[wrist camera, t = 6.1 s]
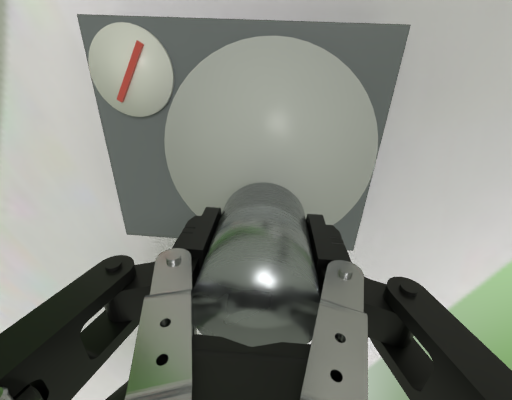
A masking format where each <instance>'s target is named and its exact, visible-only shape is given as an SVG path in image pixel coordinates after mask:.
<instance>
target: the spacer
mask: <svg viewBox="0 0 512 400" xmlns="http://www.w3.org/2000/svg"><path fill="white" fill-rule="evenodd" d="M320 299H321V293H320V288H319V283H318V278H317V273H316V268H315V263H314V258H313V253H312V248H311V243H310V238H309V233H308V228H307V223H306V218H305V213H304V209H303V206H302V204H301V203H300V201H299V199H298V198H297V197H296V196H295V195H294V194H293V193H292V192H291V191H289V190H288V189H286V188H284V187H282V186H280V185H277V184H273V183H266V182H259V183H253V184H249V185H246V186H244V187H242V188H240V189H238V190H237V191H236V192H234V193H233V194H232V195H231V196H230V198H229V199H228V200H227V202H226V204H225V207H224V209H223V212H222V215H221V217H220V220H219V222H218V225H217V228H216V230H215V233H214V236H213V238H212V241H211V244H210V246H209V249H208V252H207V254H206V257H205V260H204V262H203V265H202V267H201V270H200V273H199V275H198V278H197V281H196V283H195V286H194V289H193V309H194V320H195V325H196V327H197V329H198V330H199V331H200V332H201V333H202V334H203V335H209V336H220V337H224V338H227V339H229V340H232V341H235V342H238V343H241V344H244V345H246V346H250V347H255V346H261V345H267V344H273V343H279V342H288V343H300V344H307V343H309V342H310V341H311V340H312V338H313V333H314V328H315V323H316V318H317V314H318V309H319V304H320Z"/></svg>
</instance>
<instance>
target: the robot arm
mask: <svg viewBox="0 0 512 400" xmlns="http://www.w3.org/2000/svg"><path fill="white" fill-rule="evenodd" d="M221 215H222V212H221V208H216V207H206V208H205V210H204V212H203V214H202V216H194V217H193V218H191V219H190V220H188V222H187V223H186V225H185V228H184V229H183V230H182V233H181V234H180V235H179V237H178V239H177V241H176V242H175V244H174V246H173V248H172V249H169V250H166V251H164V252H162V253H161V254H159V255H158V256H157V258H156V260H155V262H152V263H146V264H139V265H134V261H133V259H132V258H131V257H129V256H125V255H118V256H113V257H110V258H107V259H105V260H103V261H101V262H100V263H98V264H97V265H96V266H94V267H93V268H91V269H90V270H89V271H87V272H86V273H84V274H83V275H82V276H80V277H79V278H77V279H76V280H75V281H73V282H72V283H70V284H69V285H68V286H66V287H65V288H63V289H62V290H61V291H59V292H58V293H56V294H55V295H54V296H52V297H51V298H49V299H48V300H47V301H45V302H44V303H42V304H41V305H40V306H38V307H37V308H35V309H34V310H33V311H31V312H30V313H28V314H27V315H26V316H24V317H23V318H21V319H20V320H19V321H17V322H16V323H14V324H13V325H12V326H10V327H9V328H7V329H6V330H5V331H3V332H2V333H0V400H71V399H72V398H73V397H74V396H75V395H76V394H77V392H78V391H79V390H80V389H81V388H82V387H83V386H84V385H85V384H86V382H87V381H88V380H89V379H90V378H91V377H92V376H93V375H94V374H95V372H96V371H97V370H98V369H99V368H100V367H101V366H102V365H103V364H104V362H105V361H106V360H107V359H108V358H109V357H110V356H111V355H112V354H113V352H114V351H115V350H116V349H117V348H118V347H119V346H120V345H121V344H122V342H123V341H124V340H125V339H126V338H127V337H128V336H129V335H130V334H131V332H132V331H133V330H134V329H135V328H136V327H137V326H138V325H139V328H138V333H137V338H136V344H135V349H134V354H133V360H132V365H131V370H130V376H129V381H127V382H126V383H125V384H124V385H123V386H121V387H120V388H119V389H118V390H116V391H115V392H114V393H113V394H112V395H110V396H109V397H108V398H107V399H106V400H368V337H369V338H370V339H371V341H372V343H373V345H374V346H375V348H376V349H377V351H378V352H379V354H380V355H381V357H382V358H383V360H384V361H385V363H386V364H387V365H388V367H389V369H390V370H391V372H392V373H393V375H394V376H395V378H396V379H397V381H398V382H399V384H400V385H401V387H402V388H403V390H404V392H405V393H406V394H407V396H408V398H409V399H410V400H512V371H511V370H510V369H509V368H508V367H507V366H506V365H505V364H504V363H503V362H502V361H501V360H500V359H499V358H498V357H497V356H496V355H495V354H493V353H492V352H491V351H490V350H489V349H488V348H487V347H486V346H485V345H484V344H483V343H482V342H481V341H480V340H479V339H478V338H477V337H476V336H474V335H473V334H472V333H471V332H470V331H469V330H468V329H467V328H466V327H465V326H464V325H463V324H462V323H461V322H460V321H459V320H458V319H456V318H455V317H454V316H453V315H452V314H451V313H450V312H449V311H448V310H447V309H446V308H445V307H444V306H443V305H442V304H441V303H440V302H439V301H438V300H436V299H435V298H434V297H433V296H432V295H431V294H430V293H429V292H428V291H427V290H426V289H425V288H424V287H423V286H421V285H420V284H419V283H417V282H415V281H413V280H411V279H408V278H404V277H393V278H390V279H389V280H388V282H387V284H383V283H380V282H377V281H373V280H370V279H368V278H366V277H364V274H363V272H362V270H361V269H360V268H359V267H358V266H356V265H355V264H353V263H352V262H351V260H350V257H349V255H348V252H347V250H346V247H345V245H344V242H343V239H342V237H341V234H340V232H339V230H337V229H336V228H335V227H334V226H333V225H326V224H325V220H324V217H323V215H320V214H307V217H306V223H307V228H308V233H309V238H310V243H311V248H312V253H313V258H314V263H315V268H316V273H317V278H318V283H319V288H320V293H321V299H320V304H319V309H318V314H317V318H316V323H315V328H314V333H313V338H312V343H311V344H300V343H288V342H279V343H273V344H267V345H261V346H255V347H250V346H246V345H244V344H241V343H238V342H235V341H232V340H229V339H227V338H224V337H220V336H209V335H198V334H197V327H196V325H195V320H194V309H193V289H194V286H195V283H196V281H197V278H198V275H199V273H200V270H201V267H202V265H203V262H204V260H205V257H206V254H207V252H208V249H209V246H210V244H211V241H212V238H213V236H214V233H215V230H216V228H217V225H218V222H219V220H220V217H221ZM103 307H105V311H104V312H103V313H102V314H100V315H99V316H98V317H97V318H96V319H95V320H94V321H93V322H92V323H91V324H90V325H88V326H87V327H86V328H85V329H84V330H83V331H82V332H81V330H82V328H83V326H84V325H85V323H86V322H87V321H88V320H89V319H90V318H92V317H93V316H94V315H95V314H96V313H97V312H98V311H99V310H101V309H102V308H103ZM413 336H415V337H416V338H417V339H418V341H419V342H420V343H421V344H422V346H423V347H424V348H425V349H426V350H427V351H428V353H429V354H430V356H431V358H432V360H433V361H432V360H431V359H430V358H429V356H428V355H427V354H426V353H425V352H424V350H423V349H422V348H421V347H420V346H419V344H418V343H417V342H416V341H415V340H414V338H413Z"/></svg>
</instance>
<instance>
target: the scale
mask: <svg viewBox="0 0 512 400" xmlns="http://www.w3.org/2000/svg"><path fill="white" fill-rule="evenodd" d="M77 17H78V21H79V26H80V30H81V35H82V39H83V43H84V48H85V52H86V57H87V61H88V66H89V70H90V74H91V79H92V83H93V88H94V92H95V96H96V101H97V105H98V110H99V114H100V118H101V123H102V127H103V132H104V136H105V140H106V145H107V149H108V154H109V158H110V162H111V167H112V171H113V176H114V180H115V184H116V189H117V193H118V198H119V202H120V207H121V211H122V215H123V220H124V224H125V229H126V233H127V234H128V235H142V236H156V237H170V238H178V237H179V235H180V234H181V233H182V230H183V229H184V228H185V225H186V223H187V222H188V220H190V219H191V218H193V217H194V216H202V214H203V212H204V210H205V208H206V207H216V208H221V212H223V209H224V207H225V204H226V202H227V200H228V199H229V198H230V196H231V195H232V194H233V193H234V192H236V191H237V190H238V189H240V188H242V187H244V186H246V185H249V184H253V183H259V182H266V183H273V184H277V185H280V186H282V187H284V188H286V189H288V190H289V191H291V192H292V193H293V194H294V195H295V196H296V197H297V198H298V199H299V201H300V203H301V204H302V206H303V209H304V213H305V218H306V217H307V214H320V215H323V217H324V220H325V224H326V225H333V226H334V227H335V228H336V229H337V230H339V232H340V234H341V237H342V239H343V242H344V245H345V247H346V250H351V251H353V249H354V245H355V241H356V237H357V233H358V229H359V226H360V222H361V218H362V214H363V210H364V206H365V202H366V198H367V194H368V190H369V186H370V182H371V178H372V174H373V171H374V167H375V163H376V159H377V155H378V151H379V147H380V143H381V139H382V135H383V131H384V127H385V123H386V120H387V116H388V112H389V108H390V104H391V100H392V96H393V92H394V88H395V84H396V80H397V76H398V72H399V69H400V65H401V61H402V57H403V53H404V49H405V45H406V41H407V37H408V33H409V29H410V25H402V24H370V23H339V22H307V21H275V20H243V19H212V18H180V17H148V16H116V15H84V14H77Z"/></svg>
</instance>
